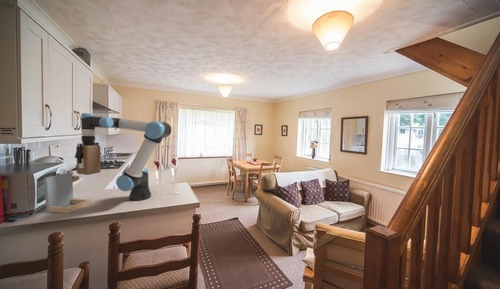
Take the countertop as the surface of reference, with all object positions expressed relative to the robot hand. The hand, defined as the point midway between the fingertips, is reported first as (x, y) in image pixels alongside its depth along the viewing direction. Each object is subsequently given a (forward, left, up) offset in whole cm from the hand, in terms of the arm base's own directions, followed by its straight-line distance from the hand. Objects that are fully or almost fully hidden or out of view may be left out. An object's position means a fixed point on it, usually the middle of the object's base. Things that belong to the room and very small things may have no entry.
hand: (89, 166), depth 143 cm
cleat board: (+7, +10, -26) cm, 29 cm away
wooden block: (0, 0, -5) cm, 5 cm away
